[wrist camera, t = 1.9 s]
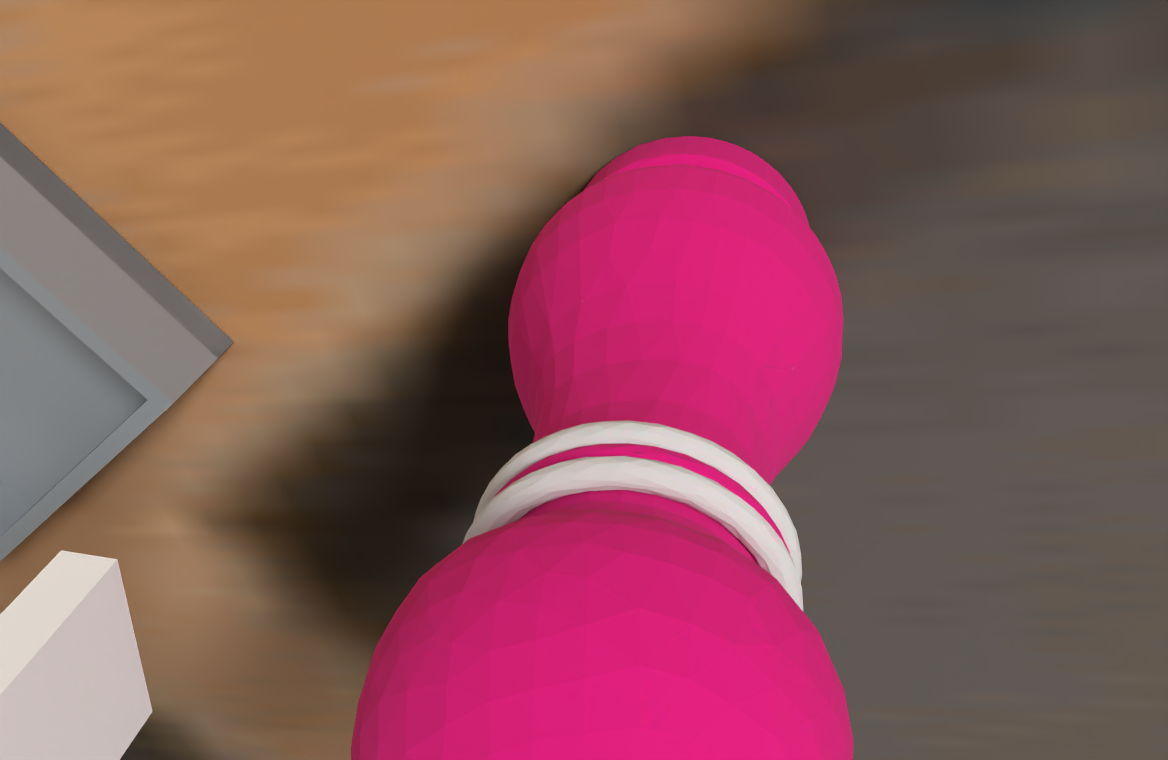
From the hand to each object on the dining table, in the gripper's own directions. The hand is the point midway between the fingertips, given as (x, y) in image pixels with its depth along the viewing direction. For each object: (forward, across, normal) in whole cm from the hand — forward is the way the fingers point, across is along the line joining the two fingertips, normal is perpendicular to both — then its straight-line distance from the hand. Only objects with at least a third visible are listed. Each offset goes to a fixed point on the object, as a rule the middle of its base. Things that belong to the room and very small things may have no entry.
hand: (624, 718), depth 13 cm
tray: (+15, +20, +5) cm, 26 cm away
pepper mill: (+16, 0, 0) cm, 16 cm away
